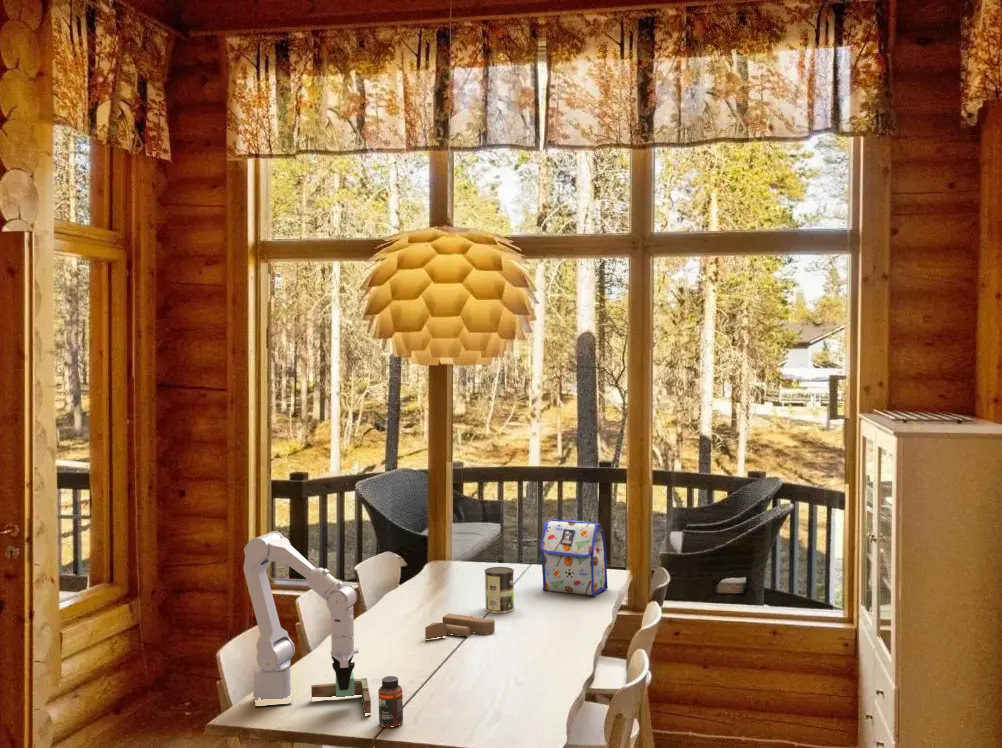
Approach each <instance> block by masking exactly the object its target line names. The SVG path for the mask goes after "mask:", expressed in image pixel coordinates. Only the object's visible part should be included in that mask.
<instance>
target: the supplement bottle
mask: <svg viewBox="0 0 1002 748" xmlns="http://www.w3.org/2000/svg"><path fill="white" fill-rule="evenodd" d="M377 693H378V724H379V723H380V724H381V725H383V726H385V727H384V728H386V727H391V726H397V725H399V724H401V723H402V722H404V709H403V708H404V707H403V706H404V704H403V702H404V701H403V688H402V686H401V685H399V677H398V676H395V675H388V676H387V675H386V676H384V677H383V678H382V679H381V686H380V687H379V688H378V692H377ZM380 724H379V725H380ZM402 724H403V723H402ZM402 724H401V725H402ZM381 725H380V726H381ZM383 726H382V727H383ZM399 726H400V725H399ZM397 727H398V726H397Z"/></svg>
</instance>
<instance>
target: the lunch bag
mask: <svg viewBox="0 0 1002 748" xmlns="http://www.w3.org/2000/svg"><path fill="white" fill-rule="evenodd" d="M540 540H541V541H540V545H539V547H540V550H541V551H540V552H541V554H540V555H541V568H542V569H541V570H542V571H541V572H542V573H541V574H542V591H546V590H547V591H550V592H559V593H569V594H578V595H585V596H593V597H596V595H597V594H599V593H601V592H602V591H604V590H607V589H608V588H609V586H608V570H607V566H608V565H607V547H606V539H605V532H604V530H603V527H602V524H601V523H599V522H598V523H597V522H595V523H594V522H589V521H583V520H576V519H575V520H574V519H573V520H570V519H569V520H563V519H561V520H560V519H556V518H553V519H547V520H546V523H544V524H543V529H542V537H541V539H540Z"/></svg>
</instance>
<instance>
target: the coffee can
mask: <svg viewBox="0 0 1002 748" xmlns="http://www.w3.org/2000/svg"><path fill="white" fill-rule="evenodd" d="M484 580H485V581H484V583H485V584H484V585H485V586H484V587H485V588H484V589H485V591H484V592H485V594H484V597H485V609H486V610H487V611H488V613H490V612H491V614H507V613H506V612H508V613H511V612H513V611H514V610H515V605H514V603H515V601H514V598H515V597H514V596H515V595H514V594H515V593H514V569H513V568H511V567H508V566H492V567H487V568H486V569H484ZM486 610H485V611H486ZM487 611H486V612H487Z"/></svg>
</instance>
